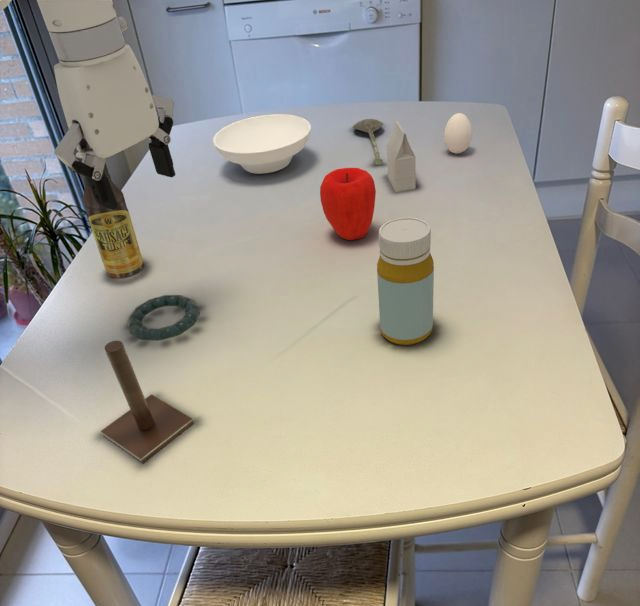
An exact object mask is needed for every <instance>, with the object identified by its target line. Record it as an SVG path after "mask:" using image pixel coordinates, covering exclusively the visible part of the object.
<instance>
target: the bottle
mask: <svg viewBox="0 0 640 606" xmlns="http://www.w3.org/2000/svg"><path fill="white" fill-rule="evenodd" d="M431 237H432V230H431V225H430V224H429V223H428V222H427V221H425V220H424V219H422V218H417V217H411V216H405V217H397V218H393V219H390V220H388V221H386V222H384V223H383V224H382V225H381V226H380V227H379V229H378V247H379V257H378V260H377V263H376V267H377V268H376V274H377V290H378V291H377V293H378V295H377V296H378V313H379V314H378V315H379V329H380V333H381V334H382V336H383V338H385V339H386V340H388V341H389V342H391V343H393V344H395V345H401V346H411V345H415V344H419V343H421V342H422V341H425V340H426V339H427V338H428V337H429V336H430V335H431V334H432V332H433V328H434V326H433V325H434V287H435V286H434V282H435V280H434V278H435V266H434V265H435V264H434V263H435V262H434V259H433V256H432V254H431V245H432V244H431V242H432V241H431Z"/></svg>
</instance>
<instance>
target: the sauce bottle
mask: <svg viewBox="0 0 640 606" xmlns="http://www.w3.org/2000/svg"><path fill="white" fill-rule="evenodd" d="M83 154H84V153H81V152H79V151H77V152H76V153H75V154H74V155H75V157H76V158H77V159H78V160H79V161H80V162H82V158H83ZM108 169H109V168H108V166H107V163H106V161H105V165H104V169H103V174H102V176H104V177H107V178H108V180H109V183H110V185H111V188H112V191H113V194H114V196H115V199H116V202H117V205H118V206H117V208H116V209H114V210H112V209H109V208H106V207H103V206H101V205H100V204H98V203H97V202H96V200H95V198H94V195H93V193H92V190H91V188H90V185H89V182H88V180H87V177H84V176H82V177H83V182H84V190H83V195H82V202H83V205H84V208H85V211H86V214H87V220H88V223H89V226H90V229H91V231H92V232H91V233H92V234H93V237H94V238H93V239H94V241H95V243H96V247H97V249H98V253H99V255H100V258H101V261H102V265H103V268H104V270H105V271H106V274H107V276H109V277H110V278H112V279H126V278H129V277H132V276H134V275H136V274H138V273H140V272H141V270H142V269H143V267H144V259H143V256H142V252H141V248H140V246H139V241H138V239H137V235H136V231H135V229H134V224H133V221H132V218H131V214H130V211H129V209H128V206H127V203H126V200H125V196H124V192H123V191H122V189H120V188H119V187H118V186H117V185H116V184H115V183H114V182H113V181H112V176H111V174H110V173H109V171H108Z"/></svg>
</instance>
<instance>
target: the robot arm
mask: <svg viewBox="0 0 640 606" xmlns="http://www.w3.org/2000/svg"><path fill="white" fill-rule="evenodd" d="M11 2H12V0H0V12H2V11H3V10H4V9H6V8H7V7H8V6H9V5H10V3H11ZM113 2H114V1H113V0H36V3H37V5H38V8H39V10H40V13H41V15H42V18H43V21H44V24H45V27H46V29H47V32H48V34H49V37H50V41H51V43H52V46H53V48H54V51H55V54H56V56H57V60H58V61H59V62H58V63H55V64H54V65H53V70H54V78H55V83H56V88H57V92H58V96H59V97H58V98H59V101H60V105H61V108H62V111H63V116H64V117H65V121H66V125H67V128H68V130H67V131H66V133H65V134H64V135H63V137H62V138H61V140H60V142H59V143H58V144H57V146H56V147H55V148H54V156H56V158H57V159H59V160H60V161H61V162H62V163H63V164H64V165H65V166H67V168H68V170H70V171H72V172H75V173H76V174H78V175H80V176H82V177H83V176H84V177H87V180H88V182H89V185H90V188H91V190H92V193H93V195H94V198H95V200H96V202H97V203H98V204H100V205H101V206H103V207H106V208H109V209H112V210H114V209H116V208H117V206H118V205H117V202H116V199H115V196H114V194H113V191H112V188H111V185H110V183H109V180H108V178H107V177H104V176H102V174H103V169H104V165H105V162H106V161H107V158H109V157H112V156H114V155H116V154H118V153H120V152H122V151H124V150H127V149H128V148H131V147H133V146H135V145H136V144H138V143H140V142H142V141H144V140H146V139H149V140H150V142H149V143H148V150H149V152H150V156H151V159H152V163H153V166H154V169H155V172H156V174H157V175H160V176H163V177H168V178H174V177H175V176H176V170H175V168H174V162H173V158H172V154H171V151H170V148H169V147H170V146H169V145H170V143H171V141H172V138H171V133H172V129H173V125H174V119H173V117H174V107H175V106H174V105H175V103H174V100H173V98H169V97H164V96H161V95H156V94H152V93H151V89H150V87H149V84H148V82H147V80H146V76H145V74H144V72H143V70H142V67H141V65H140V63H139V61H138V59H137V56H136V55H135V52H134V51H133V49H132V47H131V46H130V45H129V44H127V43H126V42H125V36H124V34H123V33H124V31H126V30H128V27H129V26H128V22H127V20H126V18H125V17H123V16H119V17H118V14H117V11H116V8H115V6H114V3H113ZM157 109H158V113H157ZM158 114H159V116H158ZM75 150H76V151H77V152H81V153H84V154H83V158H82V162H80V161H79V160H78V159H77V158H76V157H75V155H76V154H74V153H75ZM84 177H83V178H84Z"/></svg>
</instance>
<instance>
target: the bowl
mask: <svg viewBox="0 0 640 606" xmlns="http://www.w3.org/2000/svg"><path fill="white" fill-rule="evenodd" d="M311 131H312V125H311V123H310V122H309V120H307V119H306V118H304V117H301V116H298V115H294V114H285V113H274V114H273V113H272V114H262V115H255V116H252V117H247V118H243V119H240V120H237V121H234V122H232V123H230V124H228V125H226V126H224V127H222V128H221V129H219V130H218V131H217V132H216V133H215V134H214V136H213V138H212V144H213V146H214V147H215V149H216V151H217V152H218V153H219V154H220V156H222V157H223V158H224V159H225V160H227V161H228V162H231V163H233V164H238V165H239V166H240V167H242V168H243V169H244V171H246V172H247V173H251V174H269V173H274V172H278V171H280V170H282V169H285V168H286V167H288V166H289V165H290V164H291V161H292V160H293V157H294V156H295V155H297V154H298V153H299V152H301V151H302V150H303V149H305V146H306V145H307V143H308V141H309V139H310V136H311Z"/></svg>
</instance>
